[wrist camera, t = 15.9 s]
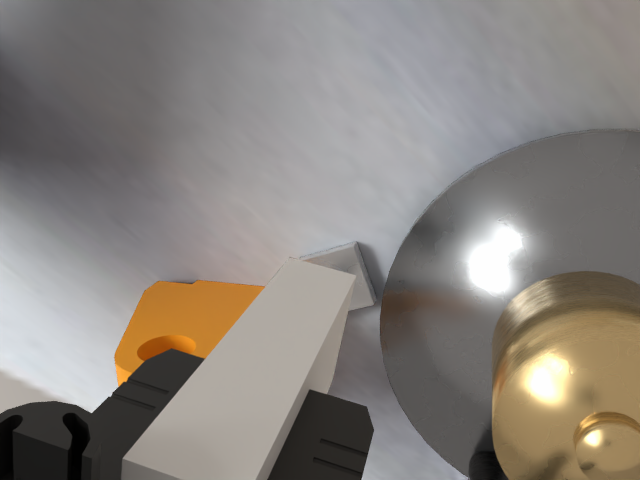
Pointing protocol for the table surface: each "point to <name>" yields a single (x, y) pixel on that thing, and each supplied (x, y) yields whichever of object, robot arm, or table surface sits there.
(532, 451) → the cover
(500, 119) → the table surface
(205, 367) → the robot arm
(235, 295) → the bracket
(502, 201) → the turntable
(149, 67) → the table surface
